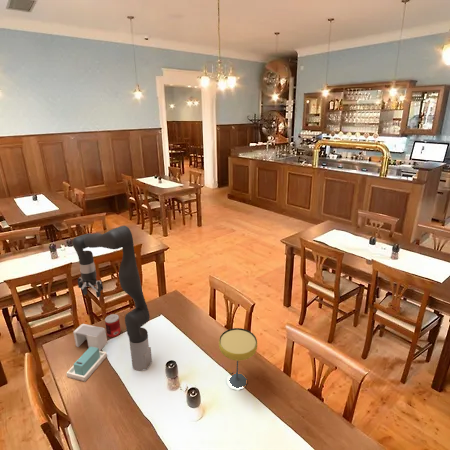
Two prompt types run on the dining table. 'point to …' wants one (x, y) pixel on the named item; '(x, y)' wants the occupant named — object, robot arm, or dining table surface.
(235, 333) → the cocktail glass
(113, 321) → the canned food
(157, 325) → the dining table surface
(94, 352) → the teal box
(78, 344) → the box
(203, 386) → the dining table surface
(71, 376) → the tray
